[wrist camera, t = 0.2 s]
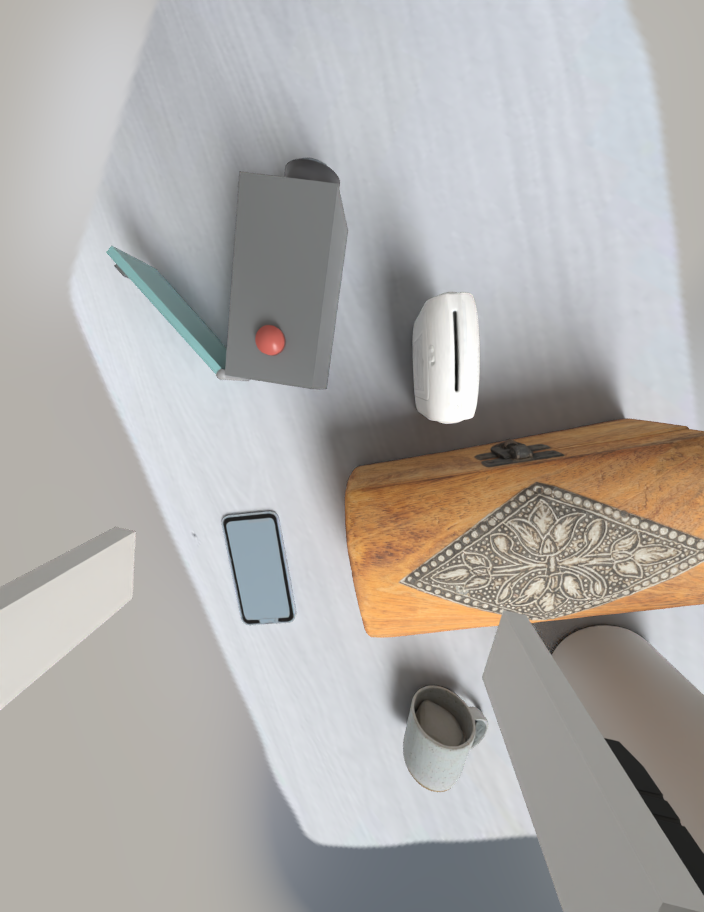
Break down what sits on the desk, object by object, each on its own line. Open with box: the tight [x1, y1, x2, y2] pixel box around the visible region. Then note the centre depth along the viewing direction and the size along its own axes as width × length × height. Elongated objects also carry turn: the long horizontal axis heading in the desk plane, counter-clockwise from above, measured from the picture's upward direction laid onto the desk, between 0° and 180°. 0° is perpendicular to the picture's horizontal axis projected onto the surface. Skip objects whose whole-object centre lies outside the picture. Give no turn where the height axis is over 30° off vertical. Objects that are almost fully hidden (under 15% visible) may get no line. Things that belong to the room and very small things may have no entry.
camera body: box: [225, 158, 348, 389], centre depth 32 cm, size 19×8×9 cm, turn 171°
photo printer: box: [413, 292, 480, 424], centre depth 30 cm, size 10×4×12 cm, turn 4°
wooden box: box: [345, 419, 704, 637], centre depth 32 cm, size 30×16×14 cm, turn 100°
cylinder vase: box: [552, 625, 704, 853], centre depth 29 cm, size 12×12×25 cm
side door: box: [106, 246, 250, 381], centre depth 34 cm, size 15×2×6 cm, turn 41°
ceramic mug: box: [403, 685, 488, 792], centre depth 41 cm, size 11×8×8 cm
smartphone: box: [222, 511, 296, 625], centre depth 43 cm, size 7×1×15 cm
